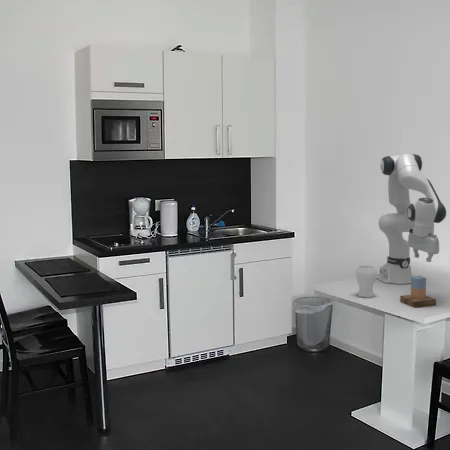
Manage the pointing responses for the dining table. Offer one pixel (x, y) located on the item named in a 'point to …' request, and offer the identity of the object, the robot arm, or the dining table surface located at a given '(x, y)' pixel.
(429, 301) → the pedestal
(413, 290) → the terracotta block
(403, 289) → the dining table surface
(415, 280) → the blue block
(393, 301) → the dining table surface
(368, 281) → the cup
